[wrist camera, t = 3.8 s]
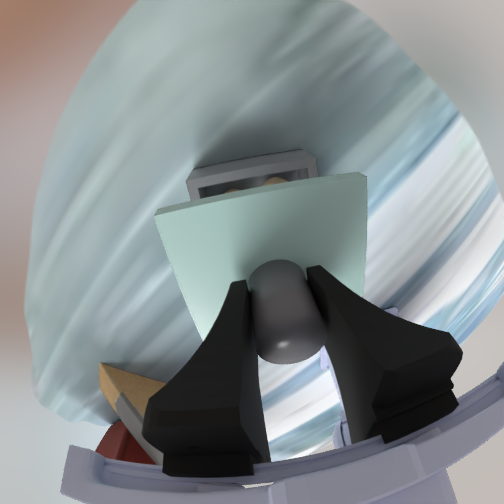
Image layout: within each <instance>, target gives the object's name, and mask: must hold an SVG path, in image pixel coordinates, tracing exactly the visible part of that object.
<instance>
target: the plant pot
mask: <svg viewBox="0 0 504 504" xmlns="http://www.w3.org/2000/svg"><path fill="white" fill-rule="evenodd" d="M95 452H97V453H99V454H101V455H102V456H103V457H104V458H108V459H114V460H119V461H126V462H133V463H140V464H149V465H157V464H156V463H155V462H154V461H153V460H152V459H151V457H150V456H149V455H148V454H147V453H146V452H145V450H144V449H143V448H142V447H141V446H140V444H139V443H138V442H137V440H136V439H135V438H134V437H133V435H132V434H131V433H130V431H129V430H128V429H127V427H126V426H125V425H124V423H123V422H122V420H121V421H119V422H117V423H115V424H113V425H111V426H110V428H109V429H108V431H107V432H106V434H105V435H104V437H103V438H102V440H101V442H100V444H99V445H98V447H97V449H96V451H95Z"/></svg>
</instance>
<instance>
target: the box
mask: <svg viewBox="0 0 504 504" xmlns="http://www.w3.org/2000/svg"><path fill="white" fill-rule="evenodd" d="M316 177H318V171H317V162H316V157H315V156H313V155H311V154H309V153H308V152H306V151H304V150H302V149H300V150H292V151H286V152H279V153H273V154H266V155H260V156H255V157H249V158H244V159H239V160H233V161H228V162H224V163H219V164H214V165H210V166H205V167H201V168H196V169H193V170H192V172H191V173H190V175H189V177H188V178H187V180H186V184H187V188H188V192H189V195H190V199H191V201H193V200H198V199H202V198H207V197H211V196H216V195H221V194H225V193H230V192H235V191H240V190H245V189H251V188H256V187H261V186H267V185H273V184H278V183H284V182H290V181H297V180H303V179H310V178H316Z"/></svg>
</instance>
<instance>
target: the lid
mask: <svg viewBox="0 0 504 504" xmlns="http://www.w3.org/2000/svg"><path fill="white" fill-rule="evenodd" d="M154 219H155V222H156V225H157V228H158V231H159V234H160V236H161V239H162V242H163V245H164V248H165V250H166V253H167V256H168V258H169V261H170V264H171V266H172V269H173V272H174V274H175V277H176V279H177V282H178V284H179V287H180V289H181V292H182V294H183V297H184V299H185V302H186V304H187V306H188V309H189V311H190V313H191V316H192V318H193V320H194V323H195V325H196V327H197V329H198V332H199V334H200V336H201V338H202V340H203V341H204V339H205V338H206V336H207V334H208V333H209V331H210V329H211V328H212V326H213V324H214V322H215V320H216V318H217V316H218V314H219V312H220V310H221V307H222V305H223V303H224V300H225V298H226V295H227V293H228V290H229V286H230V284H231V283H232V282H234V281H240V280H245V279H246V281H247V286H248V290H249V296H250V305H251V316H252V324H253V333H254V342H255V349H256V352H257V354H258V355H259V356H260V357H261V358H262V359H264V360H265V361H268V362H270V363H274V364H292V363H297V362H300V361H303V360H306V359H308V358H310V357H311V356H313V355H315V354H316V353H317V352H318V351H319V350H320V349H321V348H322V347H323V346H324V344H325V342H326V340H327V329H326V326H325V324H324V321H323V319H322V316H321V313H320V311H319V308H318V306H317V303H316V301H315V299H314V296H313V294H312V291H311V289H310V286H309V284H308V281H307V270H306V268H307V267H312V266H317V265H321V266H322V267H323V268H325V269H326V270H327V271H328V272H329V273H330V274H332V275H333V276H334V277H335V278H337V279H338V280H339V281H340V282H341V283H343V284H344V285H345V286H347V287H348V288H349V289H351V290H352V291H353V292H355V293H356V294H358V295H359V296H361V297H362V298H363V288H364V276H365V263H366V244H367V176H365V175H363V174H361V173H360V172H354V173H346V174H338V175H330V176H323V177H316V178H310V179H303V180H297V181H290V182H284V183H278V184H273V185H267V186H261V187H256V188H251V189H245V190H240V191H235V192H230V193H225V194H221V195H216V196H211V197H207V198H202V199H198V200H193V201H189V202H184V203H180V204H176V205H172V206H168V207H164V208H160V209H158V210H157V212H156V213H155V215H154Z"/></svg>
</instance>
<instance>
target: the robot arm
mask: <svg viewBox="0 0 504 504" xmlns="http://www.w3.org/2000/svg"><path fill="white" fill-rule="evenodd" d="M306 270H307V281H308V284H309V286H310V289H311V291H312V294H313V296H314V299H315V301H316V303H317V306H318V308H319V311H320V313H321V316H322V319H323V321H324V324H325V326H326V329H327V340H326V342H325V344H324V346H323V347H322V348H321V349H320V368H321V369H322V370H325V369H329V368H330V371H331V374H332V377H333V380H334V383H335V386H336V389H337V392H338V395H339V399H340V402H341V405H342V408H343V411H342V412H340V413H339V414H340V418H341V421H340V422H338V423H337V424H336V426H335V429H334V431H333V442H334V446H335V449H334V450H330V451H326V452H322V453H318V454H314V455H309V456H304V457H299V458H294V459H288V460H282V461H276V462H271V458H270V452H269V446H268V440H267V434H266V428H265V422H264V415H263V408H262V402H261V394H260V387H259V377H258V354H257V352H256V349H255V342H254V333H253V324H252V316H251V305H250V296H249V290H248V286H247V281H246V279H245V280H240V281H234V282H232V283H231V284H230V286H229V290H228V293H227V295H226V298H225V300H224V303H223V305H222V307H221V310H220V312H219V314H218V316H217V318H216V320H215V322H214V324H213V326H212V328H211V329H210V331H209V333H208V334H207V336H206V338H205V339H204V341H203V342H202V344H201V345H200V347H199V348H198V350H197V351H196V352H195V353H194V355H193V356H192V357H191V359H190V360H189V361H188V362H187V363H186V365H185V366H184V367H183V368H182V369H181V370H180V371H179V372H178V373H177V374H176V375H175V376H174V377H173V378H172V379H171V380H170V381H169V382H168V383H167V384H166V385H165V386H164V387H162V388H161V389H160V390H159V391H158V392H156V393H155V394H154V395H153V396H151V397H150V398H149V399H148V403H147V406H146V409H145V413H144V419H143V426H142V432H141V434H142V437H143V438H144V439H145V440H146V441H147V442H148V443H149V444H150V445H152V446H153V447H154V448H156V449H157V450H159V451H160V452H162V453H163V466H160V465H149V464H140V463H133V462H126V461H119V460H114V459H108V458H104V457H103V456H102V455H101V454H99V453H97V452H95V451H93V450H90V449H86V448H82V447H78V446H74V445H70V446H69V450H68V454H67V459H66V463H65V468H64V473H63V479H62V484H61V491H60V492H61V494H63V495H65V496H68V497H70V498H72V499H75V500H78V501H80V502H83V503H86V504H458V503H457V500H456V497H455V494H454V491H453V488H452V485H451V482H450V480H449V477H448V474H447V471H446V468H448V467H449V466H451V465H452V464H454V463H456V462H457V461H459V460H460V459H462V458H464V457H465V456H467V455H468V454H470V453H471V452H472V451H474V450H475V449H477V448H478V447H479V446H481V445H482V444H483V443H485V442H486V441H487V440H489V439H490V438H491V437H493V435H495V434H496V433H498V432H499V431H500V430H501V429H502V428H504V362H503V363H502V365H501V366H500V367H499V369H498V370H497V373H495V374H494V375H493V376H491V377H490V378H488V379H487V380H485V381H484V382H483V383H481V384H480V385H478V386H477V387H475V388H474V389H472V390H470V391H469V392H467V393H466V394H464V395H462V396H461V397H459V398H457V399H456V397H455V395H454V393H453V392H452V390H451V389H453V387H454V384H453V383H452V381H451V377H452V375H453V374H454V372H455V371H456V369H457V367H458V366H459V364H460V362H461V360H462V355H463V352H462V350H461V348H460V346H459V345H458V344H457V342H456V341H455V339H454V338H453V337H452V335H451V334H450V333H449V332H445V331H440V330H436V329H432V328H428V327H424V326H421V325H418V324H415V323H412V322H410V321H407V320H404V319H402V318H400V317H399V316H398V308H397V307H393V308H390V309H386V310H383V309H381V308H379V307H377V306H375V305H373V304H372V303H370V302H368V301H367V300H365V299H364V298H362V297H361V296H359V295H358V294H356V293H355V292H353V291H352V290H351V289H349V288H348V287H347V286H345V285H344V284H343V283H341V282H340V281H339V280H338V279H337V278H335V277H334V276H333V275H332V274H330V273H329V272H328V271H327V270H326V269H325V268H323V267H322V266H321V265H317V266H312V267H307V268H306ZM269 482H274V483H273V484H272V485H266V486H259V487H253V488H245V487H243V486H242V485H250V484H261V483H269Z"/></svg>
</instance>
